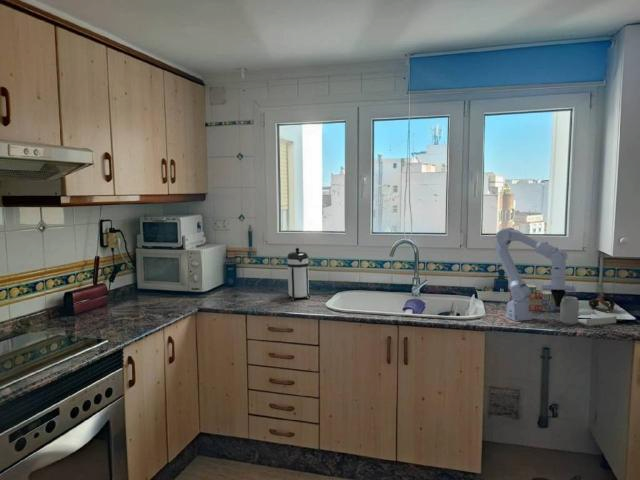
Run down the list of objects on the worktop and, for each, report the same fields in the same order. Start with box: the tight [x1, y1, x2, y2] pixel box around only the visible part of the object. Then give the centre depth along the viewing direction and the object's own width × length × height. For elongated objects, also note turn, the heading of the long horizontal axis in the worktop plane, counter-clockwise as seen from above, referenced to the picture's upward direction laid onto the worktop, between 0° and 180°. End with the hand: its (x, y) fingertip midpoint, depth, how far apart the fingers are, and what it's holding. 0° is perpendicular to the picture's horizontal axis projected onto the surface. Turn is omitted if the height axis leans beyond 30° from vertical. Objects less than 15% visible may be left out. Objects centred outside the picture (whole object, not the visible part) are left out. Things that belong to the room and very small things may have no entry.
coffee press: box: [286, 247, 311, 299], centre depth 278 cm, size 17×16×30 cm
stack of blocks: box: [509, 284, 556, 313], centre depth 241 cm, size 21×6×12 cm, turn 68°
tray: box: [578, 309, 617, 327], centre depth 219 cm, size 15×13×3 cm
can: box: [559, 295, 580, 326], centre depth 216 cm, size 8×8×12 cm
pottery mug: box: [588, 295, 616, 312], centre depth 235 cm, size 12×10×8 cm
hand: (557, 306), depth 214 cm, fingers closed
